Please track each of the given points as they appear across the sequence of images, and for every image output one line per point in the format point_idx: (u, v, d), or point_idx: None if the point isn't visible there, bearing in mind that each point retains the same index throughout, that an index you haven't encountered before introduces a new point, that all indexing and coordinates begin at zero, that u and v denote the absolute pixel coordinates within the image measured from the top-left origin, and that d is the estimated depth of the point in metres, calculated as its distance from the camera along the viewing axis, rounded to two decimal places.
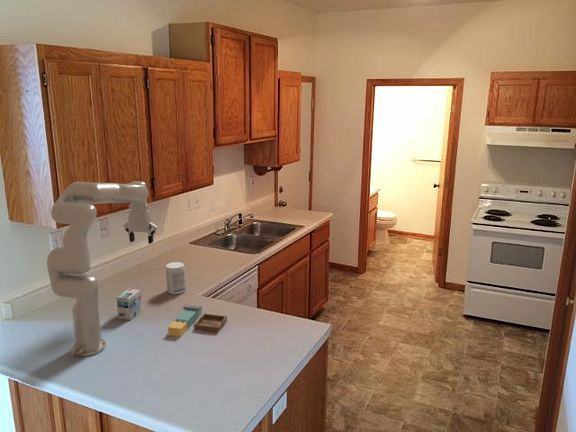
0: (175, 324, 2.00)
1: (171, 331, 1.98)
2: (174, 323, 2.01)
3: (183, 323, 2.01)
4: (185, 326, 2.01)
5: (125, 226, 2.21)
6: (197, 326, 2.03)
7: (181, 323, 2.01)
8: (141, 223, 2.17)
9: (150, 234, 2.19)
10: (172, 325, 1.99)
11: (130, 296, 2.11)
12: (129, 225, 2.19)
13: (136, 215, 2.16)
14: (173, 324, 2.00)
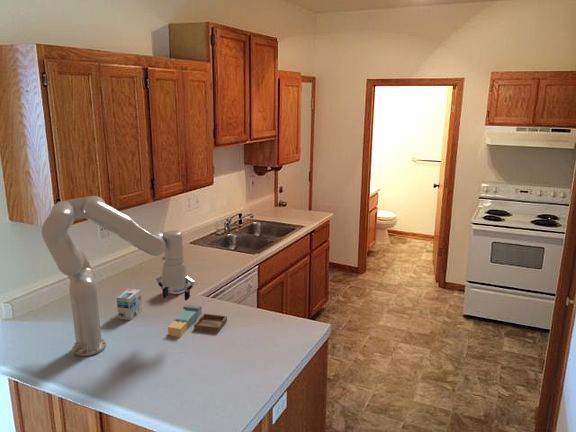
0: (175, 324, 2.00)
1: (170, 331, 1.98)
2: (174, 323, 2.01)
3: (183, 323, 2.01)
4: (185, 326, 2.01)
5: (158, 280, 1.96)
6: (197, 326, 2.03)
7: (181, 323, 2.01)
8: (177, 278, 1.92)
9: (187, 290, 1.94)
10: (172, 325, 1.99)
11: (130, 296, 2.11)
12: (163, 280, 1.93)
13: (171, 269, 1.91)
14: (173, 324, 2.00)
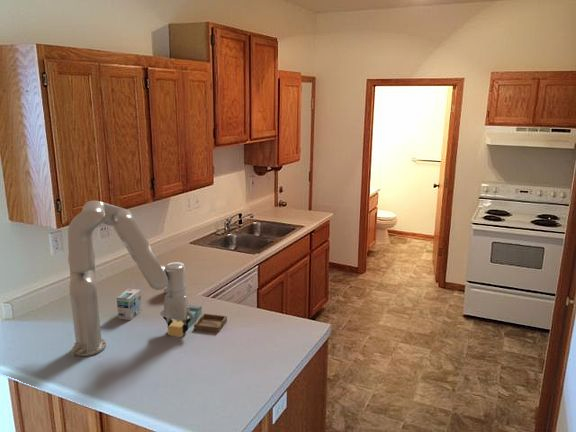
0: (175, 324, 2.00)
1: (171, 331, 1.98)
2: (174, 322, 2.01)
3: (183, 323, 2.01)
4: None
5: (162, 314, 2.00)
6: (197, 326, 2.03)
7: (181, 323, 2.01)
8: (178, 310, 1.95)
9: (185, 323, 1.98)
10: (172, 324, 2.00)
11: (130, 296, 2.11)
12: (165, 312, 1.97)
13: (173, 302, 1.95)
14: (173, 323, 2.00)
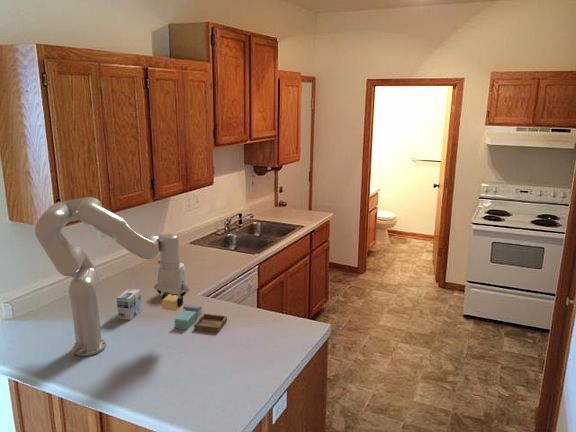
0: (170, 298, 1.91)
1: (165, 305, 1.89)
2: (169, 296, 1.92)
3: None
4: None
5: (156, 287, 1.91)
6: (197, 326, 2.03)
7: (176, 297, 1.92)
8: (173, 283, 1.86)
9: (180, 297, 1.89)
10: (166, 298, 1.91)
11: (130, 296, 2.11)
12: (159, 284, 1.88)
13: (167, 274, 1.86)
14: (168, 297, 1.91)
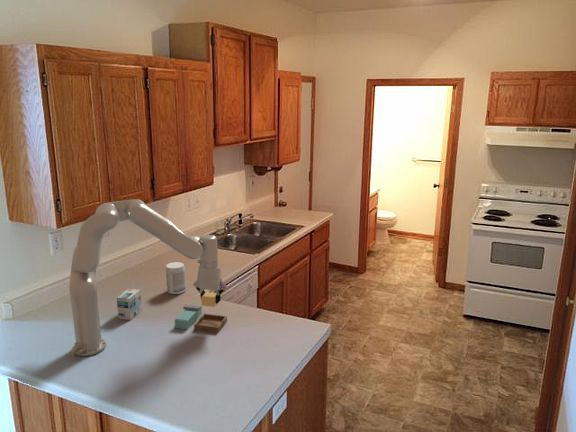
0: (208, 294, 2.04)
1: (204, 301, 2.02)
2: (207, 293, 2.05)
3: None
4: None
5: (195, 285, 2.04)
6: (197, 326, 2.03)
7: (214, 293, 2.05)
8: (212, 280, 1.99)
9: (218, 293, 2.02)
10: (205, 295, 2.03)
11: (130, 296, 2.11)
12: (198, 282, 2.01)
13: (207, 272, 1.99)
14: (206, 294, 2.04)
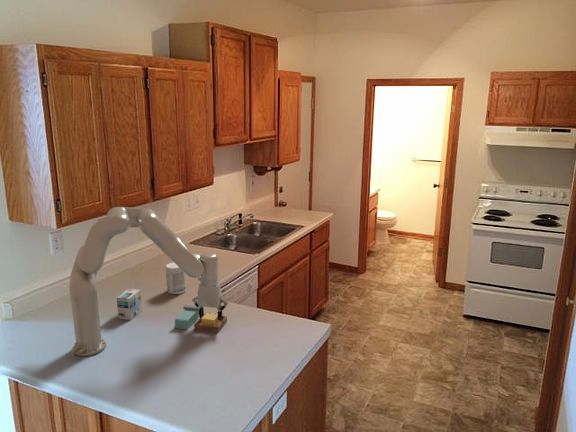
0: (208, 316, 2.06)
1: (204, 323, 2.05)
2: (207, 315, 2.08)
3: (216, 315, 2.08)
4: (217, 317, 2.08)
5: (194, 301, 2.06)
6: (197, 326, 2.03)
7: (214, 315, 2.08)
8: (212, 298, 2.01)
9: (220, 310, 2.03)
10: (205, 316, 2.06)
11: (130, 296, 2.11)
12: (199, 300, 2.03)
13: (207, 290, 2.01)
14: (206, 315, 2.07)
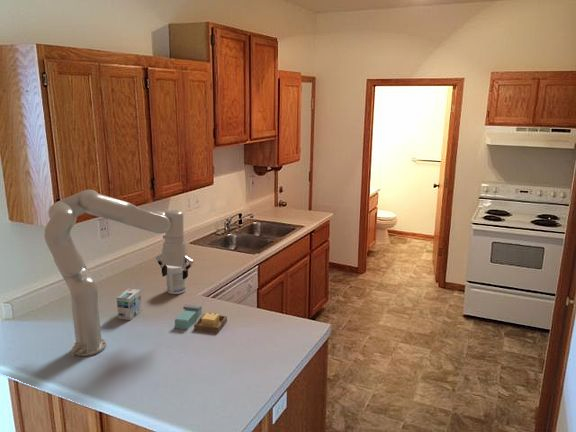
0: (208, 316, 2.06)
1: (204, 323, 2.05)
2: (207, 315, 2.08)
3: (216, 315, 2.08)
4: (217, 317, 2.08)
5: (158, 259, 2.01)
6: (197, 326, 2.03)
7: (214, 315, 2.08)
8: (176, 257, 1.96)
9: (185, 269, 1.98)
10: (205, 316, 2.06)
11: (130, 296, 2.11)
12: (162, 258, 1.98)
13: (171, 248, 1.96)
14: (206, 315, 2.07)
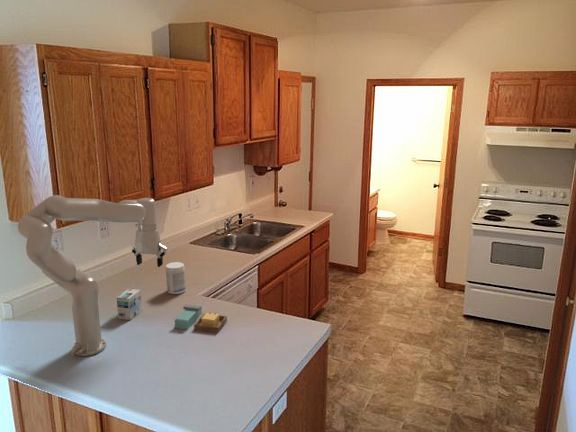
0: (208, 316, 2.06)
1: (204, 323, 2.05)
2: (207, 315, 2.08)
3: (216, 315, 2.08)
4: (217, 317, 2.08)
5: (132, 247, 2.00)
6: (197, 326, 2.03)
7: (214, 315, 2.08)
8: (149, 244, 1.96)
9: (159, 256, 1.98)
10: (205, 316, 2.06)
11: (130, 296, 2.11)
12: (136, 246, 1.97)
13: (144, 235, 1.95)
14: (206, 315, 2.07)
